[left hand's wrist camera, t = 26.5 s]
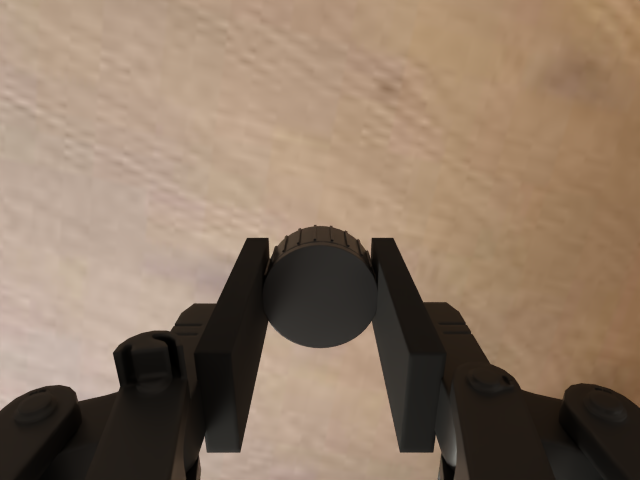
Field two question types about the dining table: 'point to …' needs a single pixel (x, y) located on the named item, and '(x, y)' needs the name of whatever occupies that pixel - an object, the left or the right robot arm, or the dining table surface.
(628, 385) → the dining table surface
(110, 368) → the dining table surface
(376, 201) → the dining table surface
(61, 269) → the dining table surface
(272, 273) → the cap
